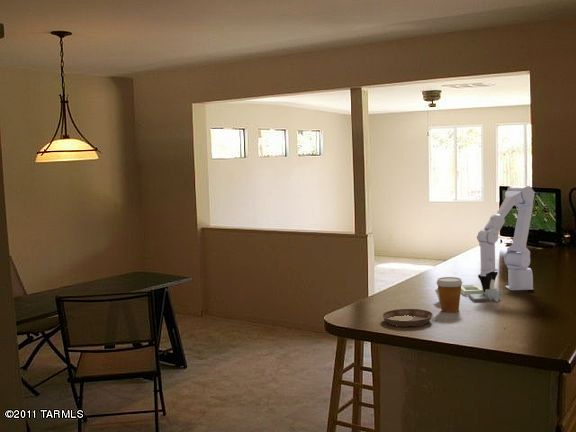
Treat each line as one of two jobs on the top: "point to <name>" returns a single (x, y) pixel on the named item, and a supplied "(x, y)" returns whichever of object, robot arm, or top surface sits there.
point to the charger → (491, 285)
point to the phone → (478, 298)
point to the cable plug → (492, 294)
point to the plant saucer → (418, 320)
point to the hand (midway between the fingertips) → (488, 290)
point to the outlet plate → (471, 289)
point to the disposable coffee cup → (449, 293)
